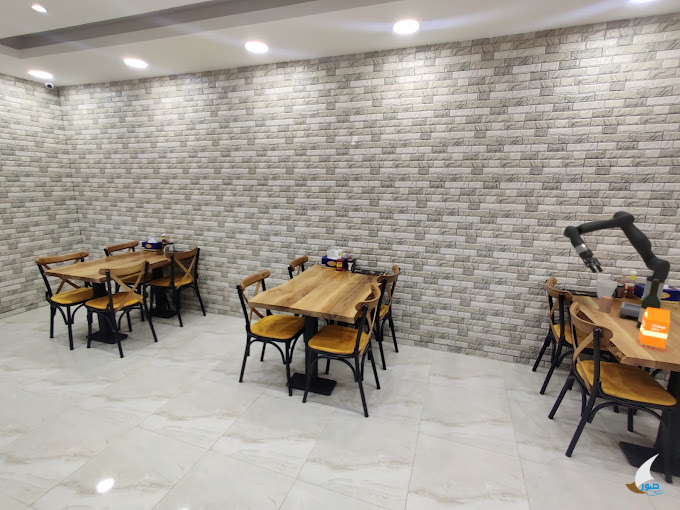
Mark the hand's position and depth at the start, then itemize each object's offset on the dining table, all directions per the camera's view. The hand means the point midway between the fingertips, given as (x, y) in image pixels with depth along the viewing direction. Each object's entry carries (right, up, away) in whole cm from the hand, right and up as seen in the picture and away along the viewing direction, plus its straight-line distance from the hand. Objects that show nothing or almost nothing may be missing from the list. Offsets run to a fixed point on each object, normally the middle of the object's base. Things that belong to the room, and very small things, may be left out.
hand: (598, 272), depth 218 cm
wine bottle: (+6, -32, -28) cm, 43 cm away
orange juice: (-10, -36, -47) cm, 60 cm away
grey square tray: (+13, -28, -12) cm, 34 cm away
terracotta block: (+3, -26, -1) cm, 26 cm away
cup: (+23, -21, +24) cm, 39 cm away
